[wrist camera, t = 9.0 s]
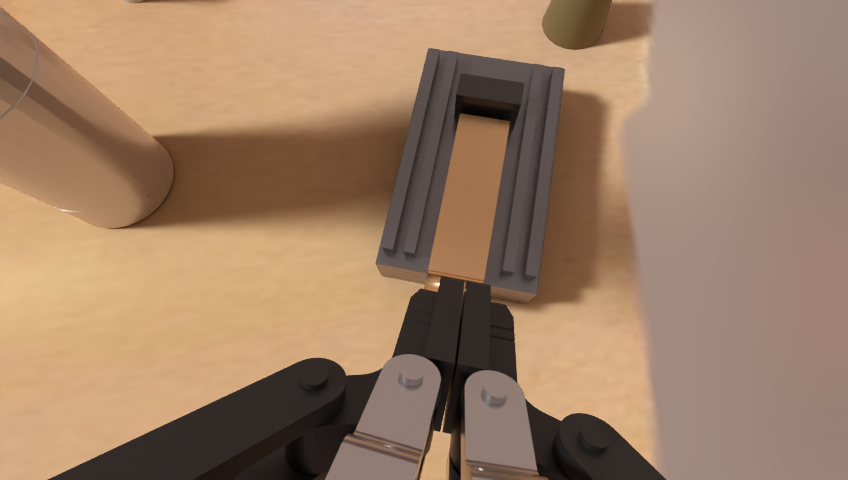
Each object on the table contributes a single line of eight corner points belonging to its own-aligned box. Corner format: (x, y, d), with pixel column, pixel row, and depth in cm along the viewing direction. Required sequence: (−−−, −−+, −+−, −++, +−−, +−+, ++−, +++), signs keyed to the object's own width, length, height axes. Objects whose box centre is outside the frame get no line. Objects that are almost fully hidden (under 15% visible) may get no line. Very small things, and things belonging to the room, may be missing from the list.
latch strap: (424, 293, 31) (423, 289, 30) (459, 122, 35) (460, 112, 34) (478, 304, 31) (480, 301, 30) (507, 130, 35) (510, 120, 34)
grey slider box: (381, 275, 36) (370, 252, 29) (428, 78, 42) (427, 21, 35) (525, 303, 35) (547, 286, 28) (552, 97, 41) (576, 42, 34)
